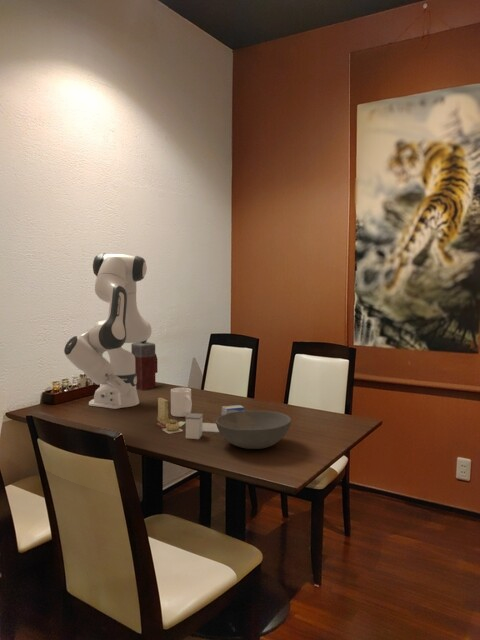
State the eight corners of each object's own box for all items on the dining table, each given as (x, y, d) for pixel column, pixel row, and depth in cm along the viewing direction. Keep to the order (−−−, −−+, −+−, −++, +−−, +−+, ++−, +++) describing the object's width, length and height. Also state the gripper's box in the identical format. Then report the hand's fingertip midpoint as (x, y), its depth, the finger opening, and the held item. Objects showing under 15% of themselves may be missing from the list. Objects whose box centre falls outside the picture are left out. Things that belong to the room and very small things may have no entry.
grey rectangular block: (185, 438, 190) (185, 417, 189) (189, 433, 195) (189, 413, 194) (199, 439, 189) (199, 417, 188) (202, 434, 194) (203, 413, 193)
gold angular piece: (181, 429, 198) (181, 404, 197) (169, 431, 195) (169, 406, 194) (165, 421, 209) (165, 397, 208) (154, 423, 206) (153, 398, 205)
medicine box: (225, 431, 198) (226, 408, 197) (220, 427, 202) (221, 405, 201) (243, 429, 201) (245, 407, 200) (238, 425, 205) (239, 404, 204)
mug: (182, 420, 212) (182, 394, 211) (166, 413, 221) (166, 389, 220) (199, 416, 218) (199, 391, 217) (183, 410, 227) (183, 386, 226)
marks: (146, 432, 196) (146, 431, 196) (160, 420, 211) (160, 420, 211) (179, 434, 194) (179, 433, 194) (191, 422, 209) (191, 422, 209)
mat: (193, 431, 198) (193, 430, 198) (199, 423, 208) (199, 422, 208) (218, 432, 196) (218, 431, 196) (224, 425, 206) (224, 424, 206)
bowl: (233, 463, 166) (233, 433, 165) (205, 438, 190) (205, 411, 189) (304, 452, 176) (305, 424, 175) (269, 430, 200) (269, 405, 199)
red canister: (159, 386, 271) (159, 334, 269) (141, 390, 263) (141, 335, 261) (149, 384, 278) (149, 332, 275) (131, 387, 270) (131, 334, 267)
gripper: (118, 370, 180) (144, 394, 186) (98, 361, 197) (122, 383, 203) (106, 384, 178) (133, 408, 184) (86, 374, 195) (112, 396, 201)
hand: (127, 395), depth 194 cm, fingers closed
